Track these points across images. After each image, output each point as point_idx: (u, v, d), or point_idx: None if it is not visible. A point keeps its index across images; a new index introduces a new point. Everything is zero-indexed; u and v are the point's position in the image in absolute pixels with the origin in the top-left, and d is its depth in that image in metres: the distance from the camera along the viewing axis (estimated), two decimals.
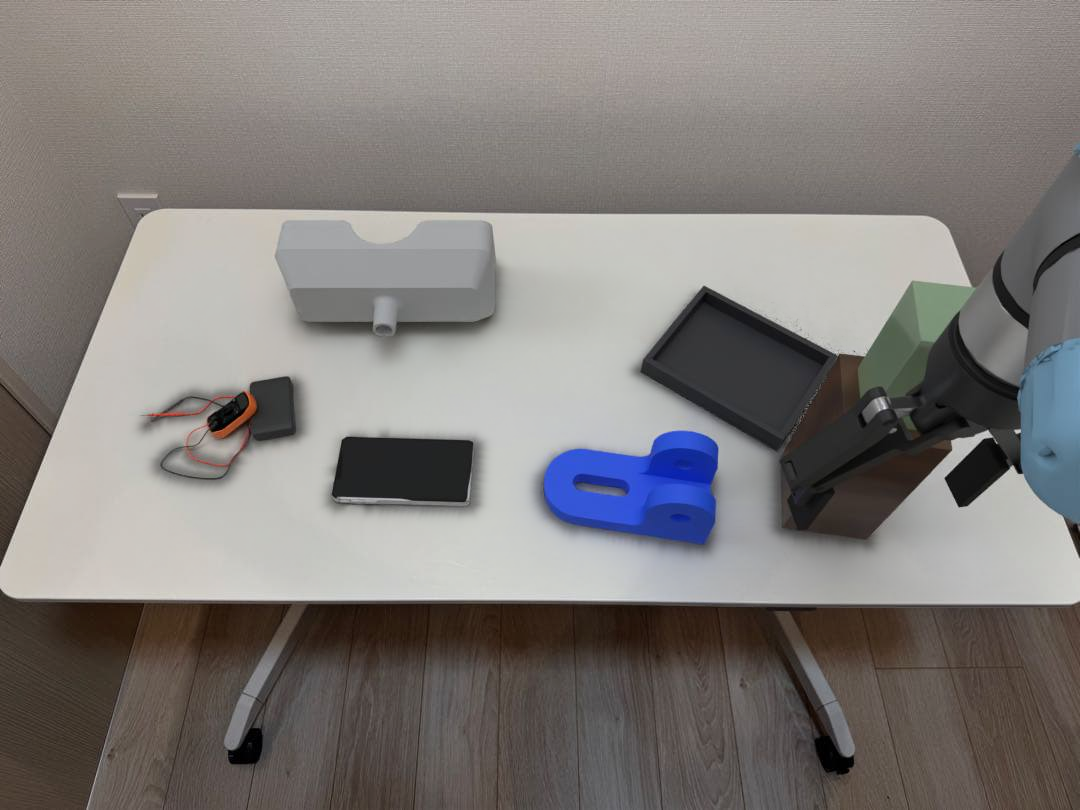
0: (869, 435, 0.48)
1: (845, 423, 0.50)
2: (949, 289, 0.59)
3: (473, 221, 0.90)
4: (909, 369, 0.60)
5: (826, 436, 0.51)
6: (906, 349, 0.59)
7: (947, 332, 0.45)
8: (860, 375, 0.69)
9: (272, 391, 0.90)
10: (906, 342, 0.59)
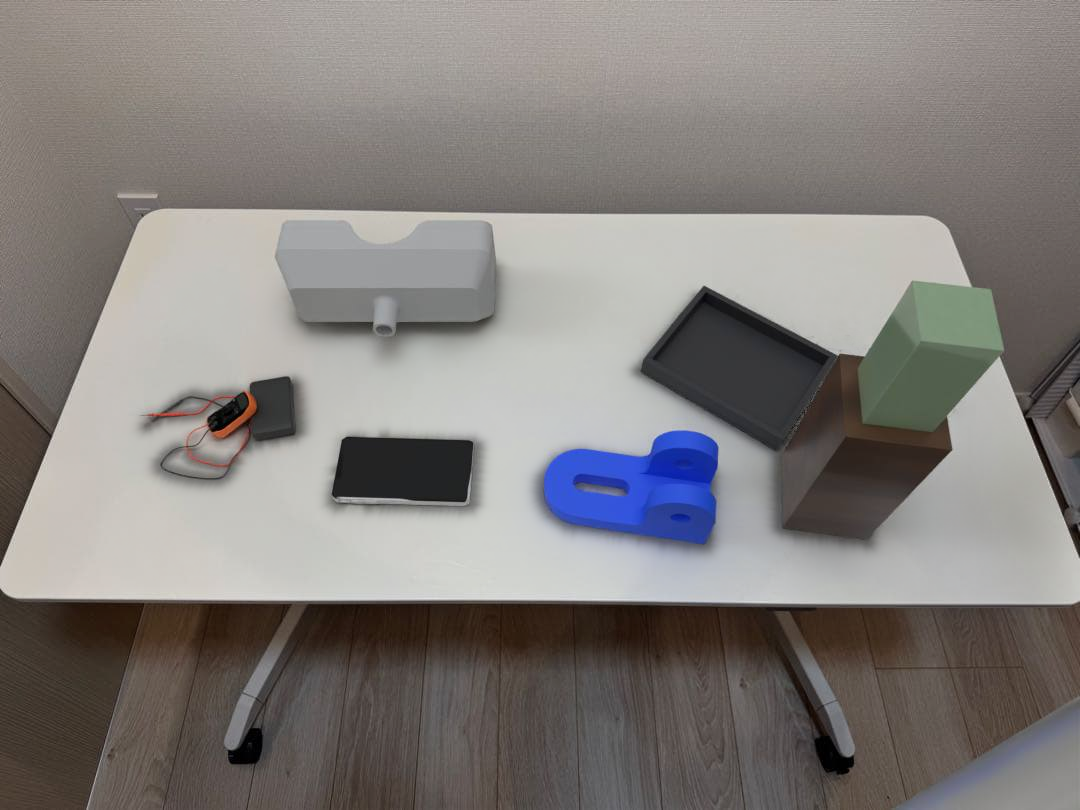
0: None
1: None
2: (949, 289, 0.59)
3: (473, 221, 0.90)
4: (909, 369, 0.60)
5: None
6: (906, 349, 0.59)
7: None
8: (860, 375, 0.69)
9: (272, 391, 0.90)
10: (906, 342, 0.59)
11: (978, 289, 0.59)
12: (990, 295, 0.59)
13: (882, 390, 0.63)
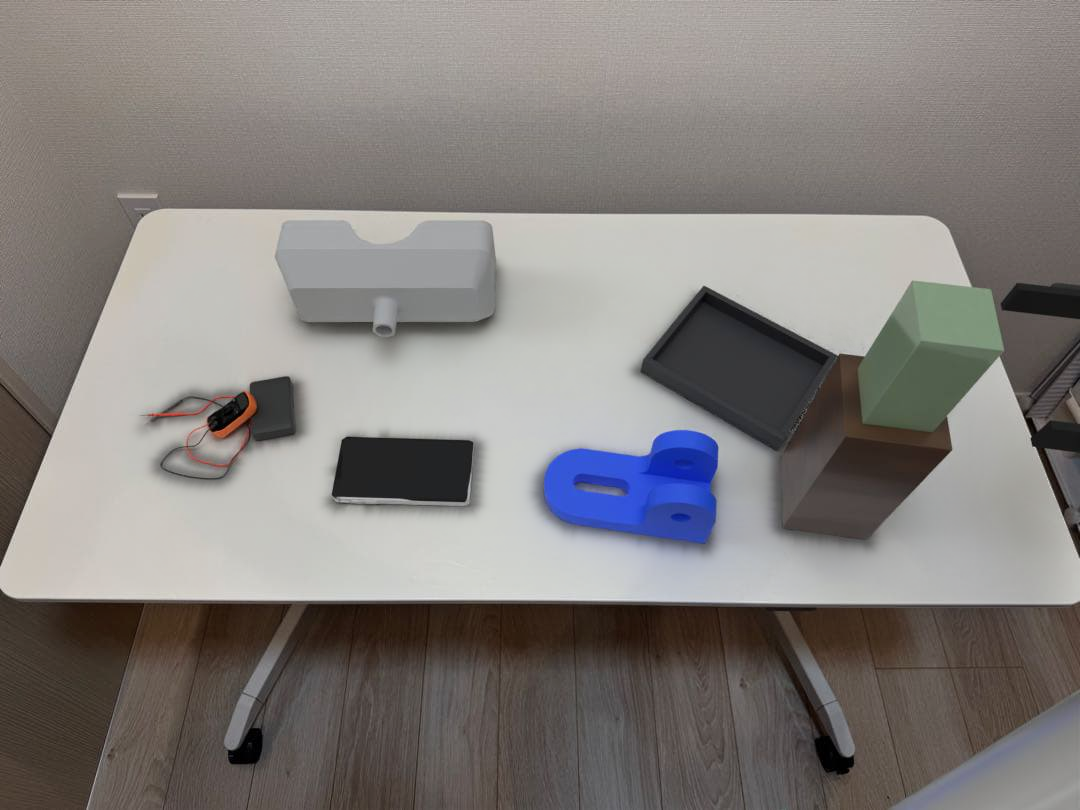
0: None
1: None
2: (949, 289, 0.59)
3: (473, 221, 0.90)
4: (909, 369, 0.60)
5: None
6: (906, 349, 0.59)
7: None
8: (860, 375, 0.69)
9: (272, 391, 0.90)
10: (906, 342, 0.59)
11: (978, 289, 0.59)
12: (990, 295, 0.59)
13: (882, 390, 0.63)
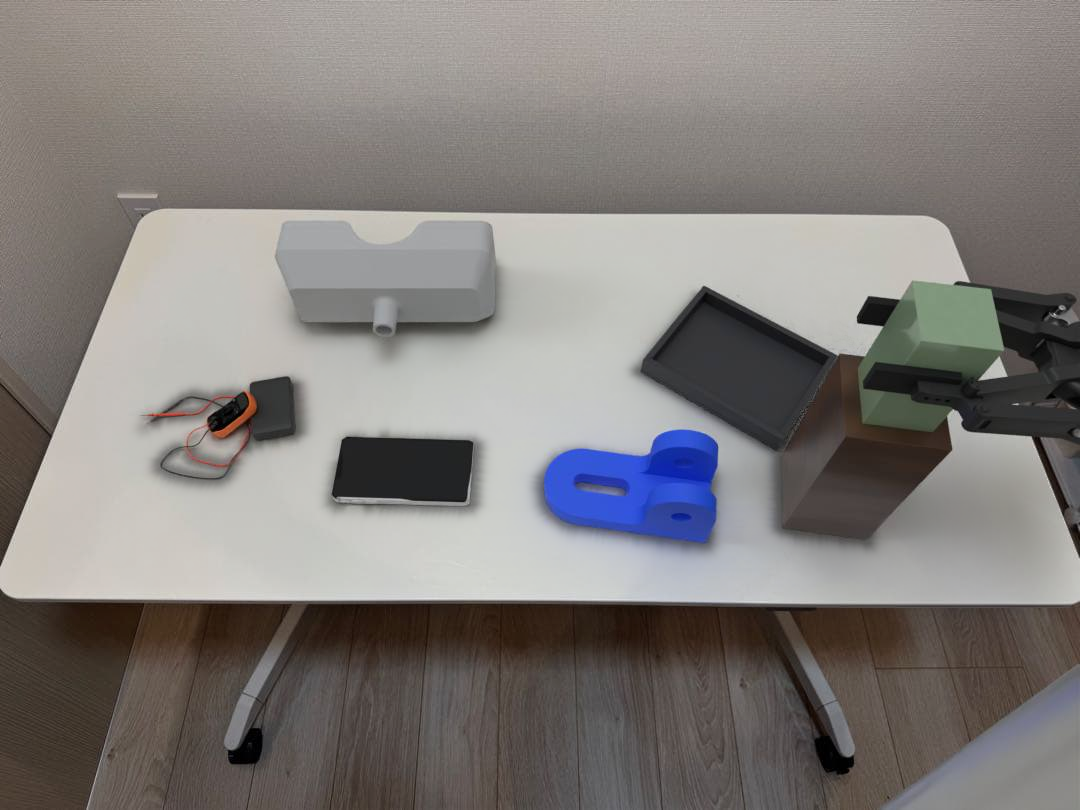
0: None
1: None
2: (949, 289, 0.59)
3: (473, 221, 0.90)
4: None
5: None
6: (906, 349, 0.59)
7: None
8: (860, 375, 0.69)
9: (272, 391, 0.90)
10: (906, 342, 0.59)
11: (978, 289, 0.59)
12: (990, 295, 0.59)
13: None
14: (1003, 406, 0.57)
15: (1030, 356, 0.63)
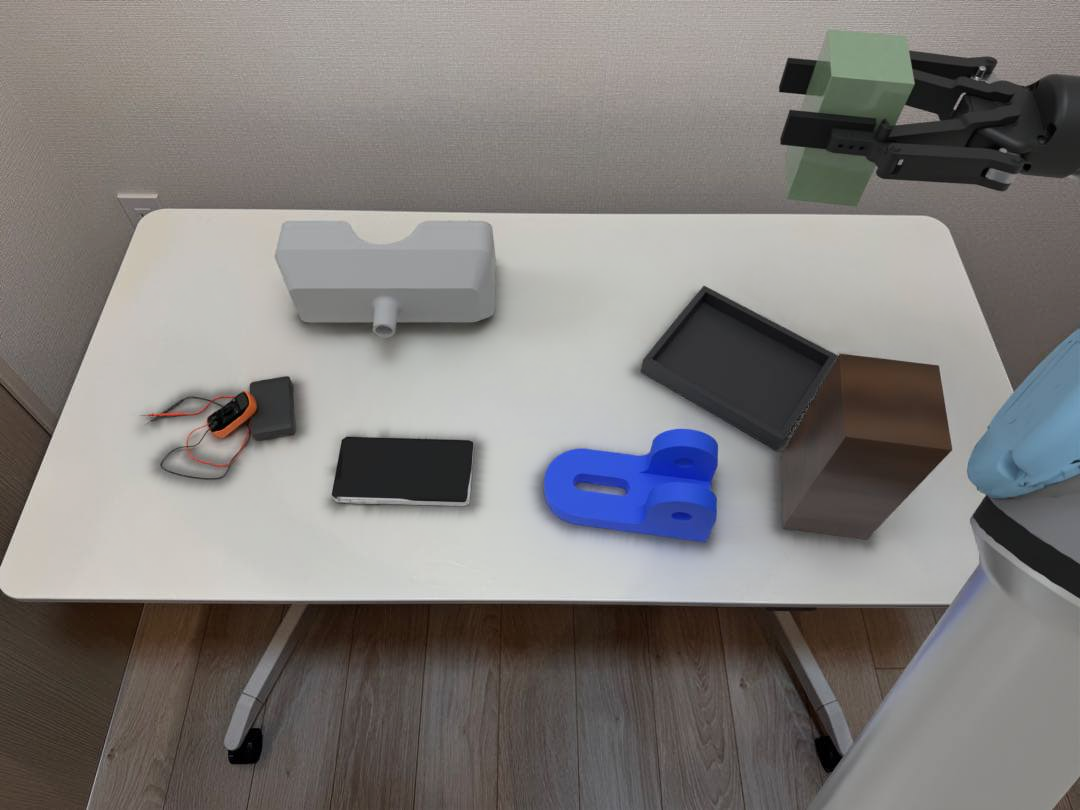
0: (970, 58, 0.63)
1: None
2: (864, 36, 0.59)
3: (473, 222, 0.90)
4: None
5: None
6: (820, 95, 0.59)
7: None
8: (787, 157, 0.68)
9: (272, 390, 0.90)
10: (820, 89, 0.59)
11: (893, 36, 0.59)
12: (905, 41, 0.59)
13: (802, 152, 0.63)
14: (915, 146, 0.57)
15: (950, 118, 0.63)
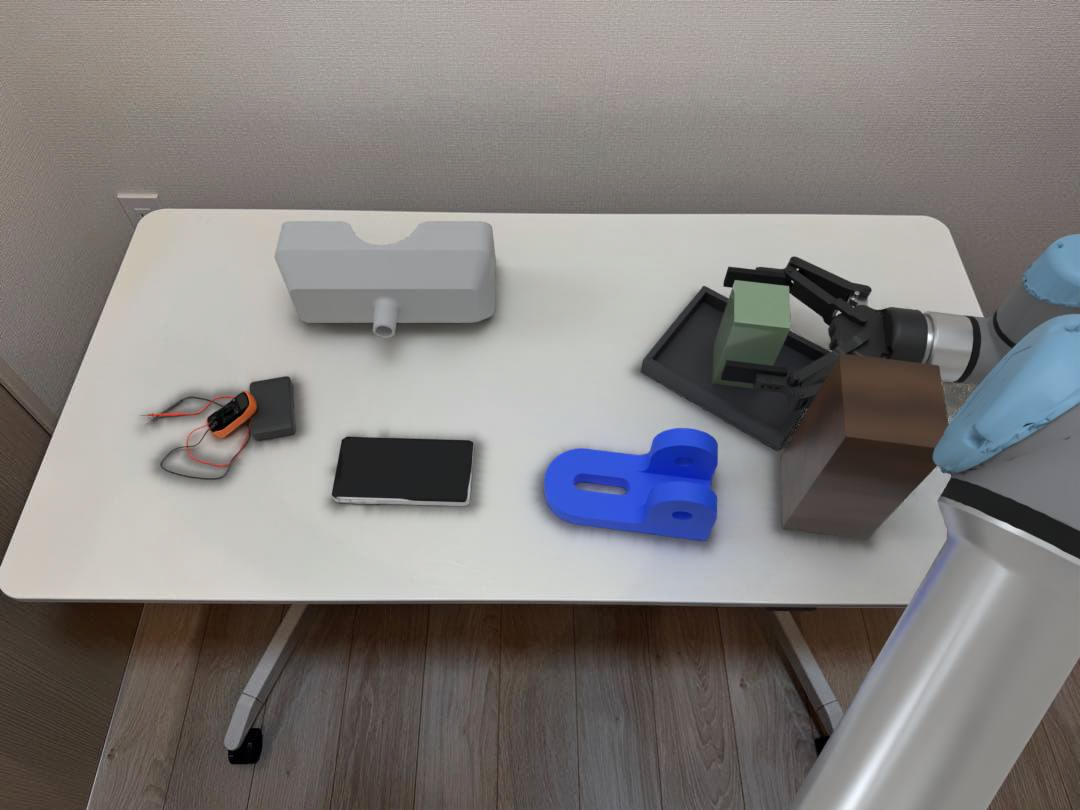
0: (854, 283, 0.88)
1: None
2: (759, 286, 0.85)
3: (473, 222, 0.90)
4: (732, 342, 0.85)
5: None
6: (729, 328, 0.85)
7: None
8: (714, 349, 0.94)
9: (272, 390, 0.90)
10: (729, 323, 0.85)
11: (780, 286, 0.85)
12: (787, 290, 0.84)
13: (720, 358, 0.88)
14: (811, 387, 0.81)
15: (829, 323, 0.88)
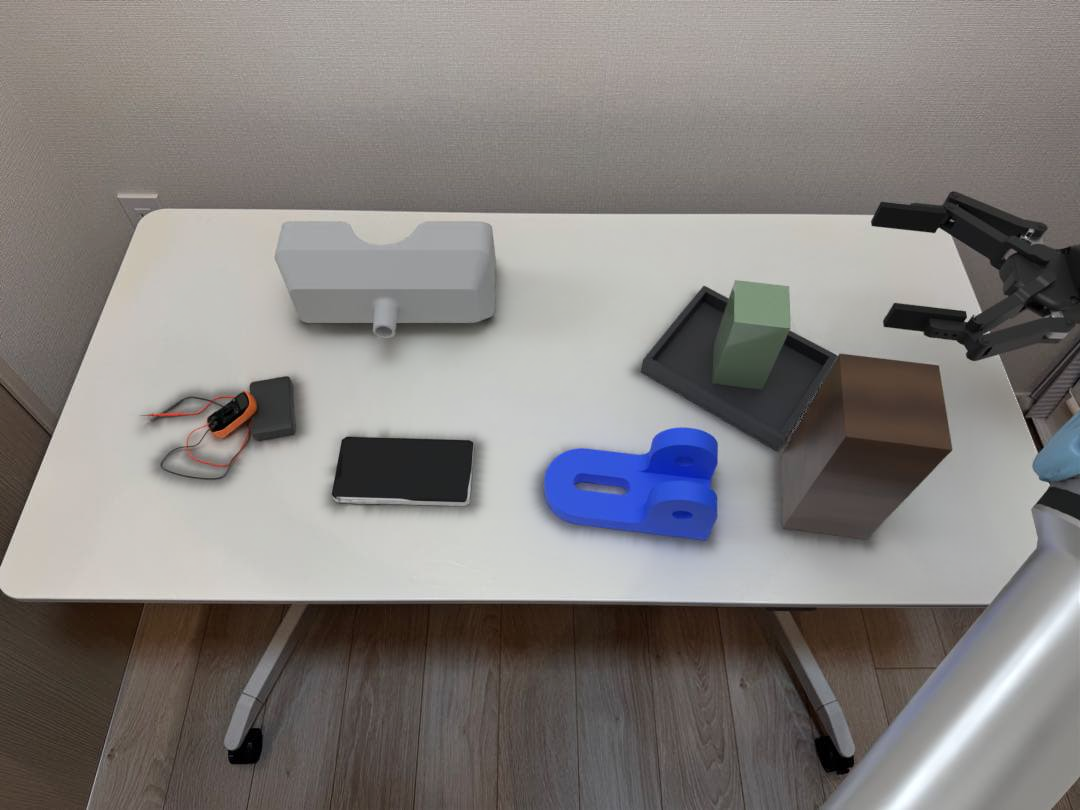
0: (1026, 220, 0.78)
1: None
2: (759, 286, 0.85)
3: (473, 222, 0.90)
4: (732, 342, 0.85)
5: None
6: (729, 328, 0.85)
7: None
8: (714, 349, 0.94)
9: (272, 390, 0.90)
10: (729, 323, 0.85)
11: (780, 286, 0.85)
12: (787, 290, 0.84)
13: (720, 358, 0.88)
14: (996, 333, 0.70)
15: (998, 265, 0.77)
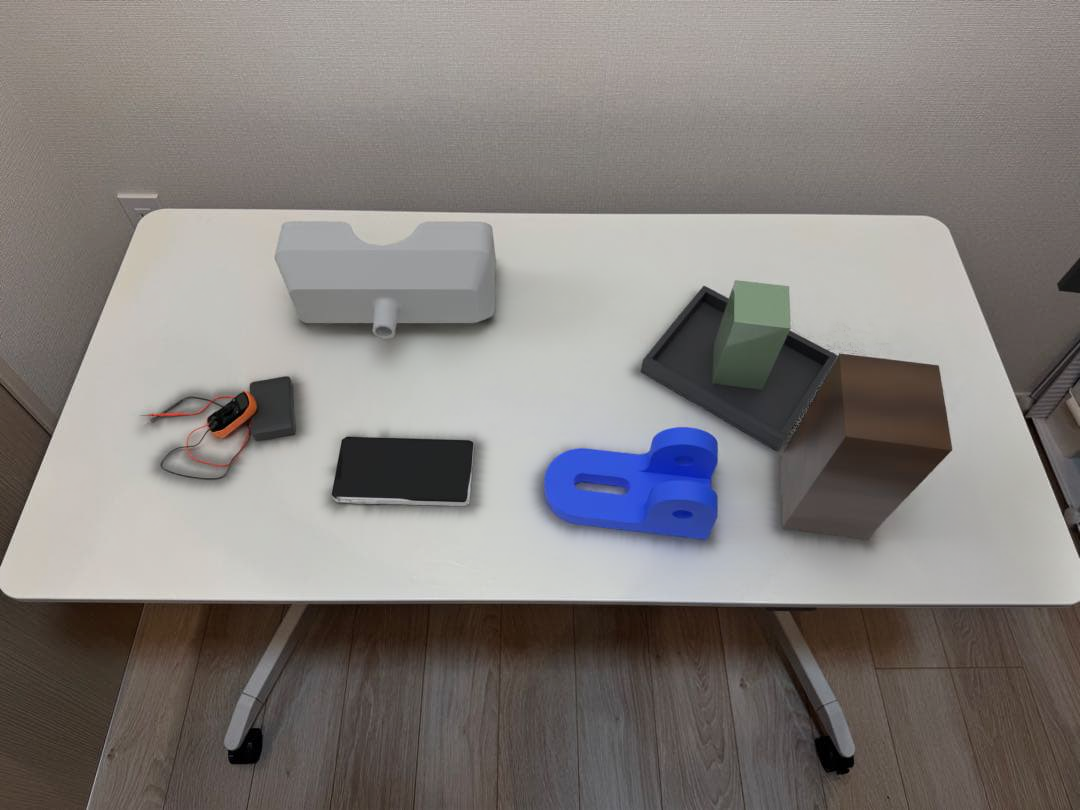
0: None
1: None
2: (759, 286, 0.85)
3: (473, 222, 0.90)
4: (732, 342, 0.85)
5: None
6: (729, 328, 0.85)
7: None
8: (714, 349, 0.94)
9: (272, 391, 0.90)
10: (729, 323, 0.85)
11: (780, 286, 0.85)
12: (787, 290, 0.84)
13: (720, 358, 0.88)
14: None
15: None
